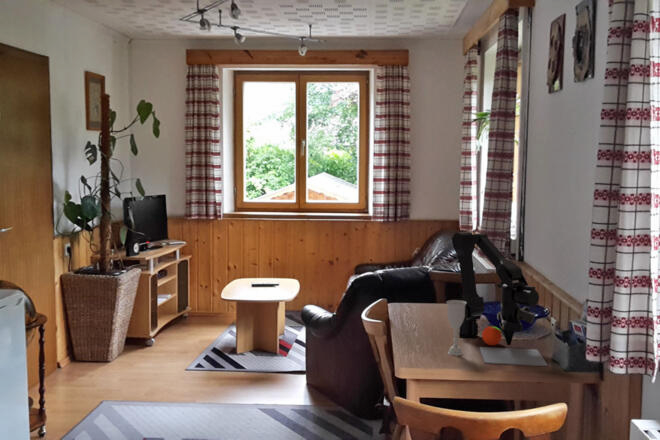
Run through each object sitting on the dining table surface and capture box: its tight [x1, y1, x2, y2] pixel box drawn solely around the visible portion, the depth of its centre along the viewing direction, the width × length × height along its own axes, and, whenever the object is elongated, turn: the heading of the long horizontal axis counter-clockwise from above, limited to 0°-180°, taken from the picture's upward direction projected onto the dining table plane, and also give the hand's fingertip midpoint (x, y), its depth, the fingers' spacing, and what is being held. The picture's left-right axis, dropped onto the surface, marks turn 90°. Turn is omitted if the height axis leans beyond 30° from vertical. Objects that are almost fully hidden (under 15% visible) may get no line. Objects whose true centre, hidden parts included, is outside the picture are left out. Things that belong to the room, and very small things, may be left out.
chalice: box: [446, 299, 467, 357], centre depth 222 cm, size 7×7×18 cm
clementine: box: [481, 325, 504, 346], centre depth 233 cm, size 8×7×7 cm
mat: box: [479, 346, 549, 367], centre depth 220 cm, size 20×18×1 cm
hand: (508, 344), depth 229 cm, fingers closed
